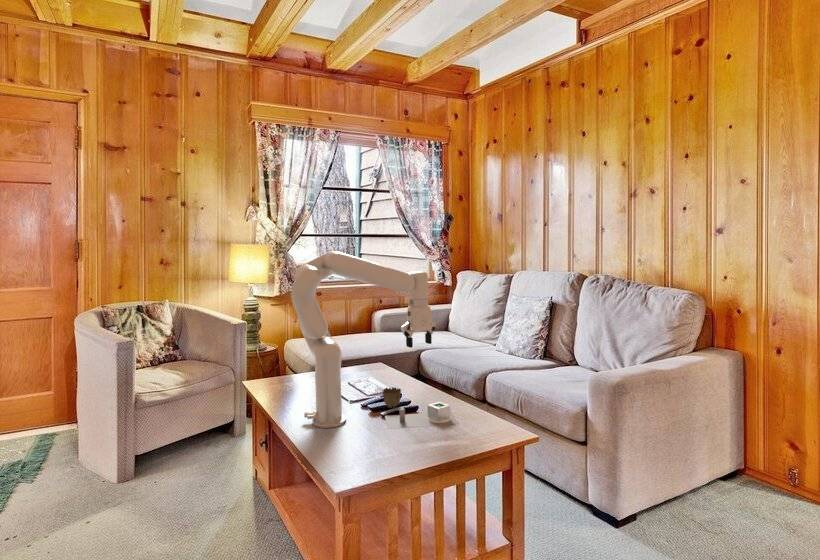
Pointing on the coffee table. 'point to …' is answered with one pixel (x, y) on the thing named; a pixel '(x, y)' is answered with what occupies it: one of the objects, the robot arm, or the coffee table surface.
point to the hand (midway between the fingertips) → (419, 345)
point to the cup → (391, 396)
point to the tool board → (415, 420)
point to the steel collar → (439, 411)
